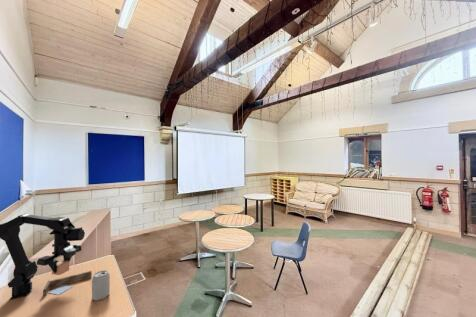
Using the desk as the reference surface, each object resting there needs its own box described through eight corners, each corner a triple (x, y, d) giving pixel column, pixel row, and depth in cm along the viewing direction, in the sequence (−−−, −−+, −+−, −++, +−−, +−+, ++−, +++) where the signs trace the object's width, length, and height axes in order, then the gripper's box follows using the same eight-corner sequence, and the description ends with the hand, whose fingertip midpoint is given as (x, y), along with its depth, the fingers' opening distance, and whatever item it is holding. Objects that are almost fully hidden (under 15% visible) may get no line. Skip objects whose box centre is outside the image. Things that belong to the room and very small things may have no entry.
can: (112, 294, 104) (112, 270, 104) (97, 303, 97) (97, 278, 97) (103, 290, 107) (103, 268, 107) (88, 299, 100) (88, 275, 100)
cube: (52, 274, 106) (52, 264, 106) (62, 269, 111) (62, 260, 111) (59, 275, 105) (59, 265, 105) (69, 270, 110) (69, 261, 110)
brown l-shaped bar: (42, 296, 103) (43, 289, 103) (48, 287, 110) (48, 281, 110) (89, 284, 113) (89, 277, 113) (91, 276, 121) (91, 270, 121)
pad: (58, 295, 104) (58, 294, 104) (48, 293, 105) (48, 292, 105) (72, 286, 111) (72, 286, 111) (62, 285, 112) (62, 285, 112)
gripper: (52, 249, 98) (52, 282, 97) (89, 236, 116) (88, 263, 115) (36, 248, 100) (35, 279, 100) (74, 235, 118) (73, 261, 118)
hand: (60, 270), depth 108 cm, fingers closed on cube, 5 cm apart
